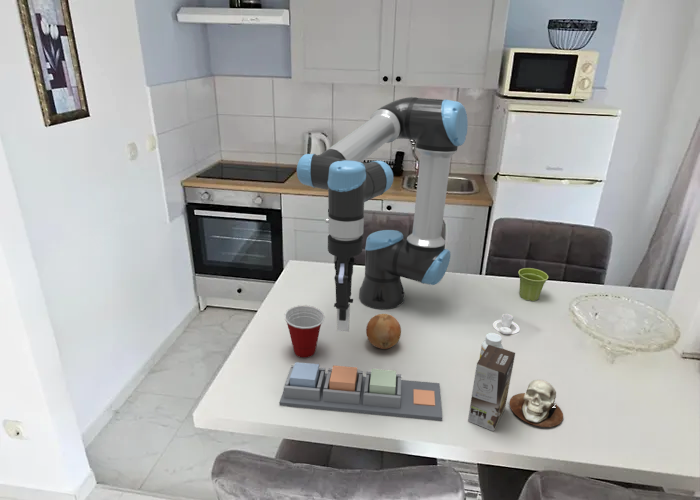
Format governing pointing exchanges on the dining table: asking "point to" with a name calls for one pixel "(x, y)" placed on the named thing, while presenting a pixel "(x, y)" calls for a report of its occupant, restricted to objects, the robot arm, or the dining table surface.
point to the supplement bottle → (491, 342)
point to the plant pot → (531, 283)
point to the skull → (537, 405)
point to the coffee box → (491, 387)
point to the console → (367, 397)
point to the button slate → (304, 375)
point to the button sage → (383, 382)
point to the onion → (383, 331)
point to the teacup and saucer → (506, 324)
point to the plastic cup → (304, 328)
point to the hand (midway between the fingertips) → (343, 329)
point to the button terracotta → (343, 378)
